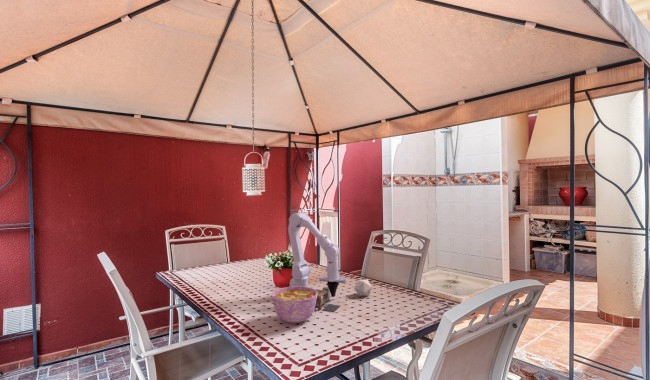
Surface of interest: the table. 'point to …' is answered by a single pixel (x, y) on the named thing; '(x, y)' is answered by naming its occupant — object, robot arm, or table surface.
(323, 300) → the hook
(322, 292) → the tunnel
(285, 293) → the bowl of food
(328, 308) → the dark grey plate
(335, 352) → the table surface
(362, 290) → the die
